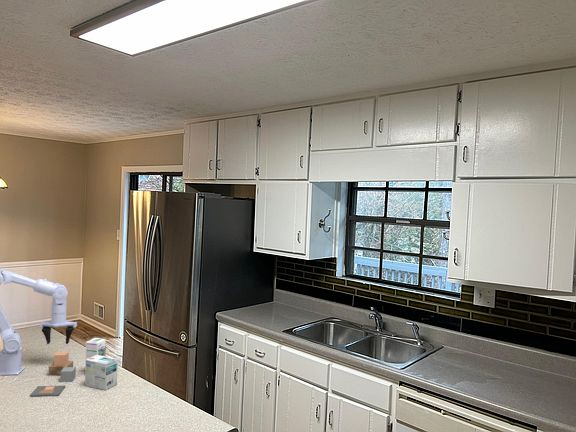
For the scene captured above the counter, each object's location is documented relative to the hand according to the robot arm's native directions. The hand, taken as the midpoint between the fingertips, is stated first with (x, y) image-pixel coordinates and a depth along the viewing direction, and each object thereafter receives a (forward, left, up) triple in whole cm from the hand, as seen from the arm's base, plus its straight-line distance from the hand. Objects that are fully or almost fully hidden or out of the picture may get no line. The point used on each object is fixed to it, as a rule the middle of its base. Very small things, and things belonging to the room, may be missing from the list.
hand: (58, 343), depth 194 cm
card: (+5, -27, -10) cm, 29 cm away
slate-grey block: (+9, -16, -10) cm, 21 cm away
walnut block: (+4, -8, -10) cm, 14 cm away
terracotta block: (+4, -8, -6) cm, 11 cm away
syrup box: (+18, -10, -10) cm, 23 cm away
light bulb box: (+23, -22, -10) cm, 33 cm away
